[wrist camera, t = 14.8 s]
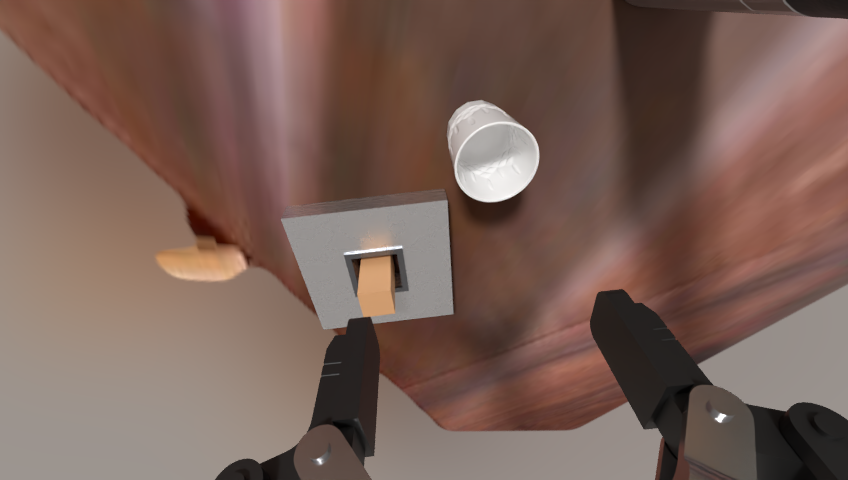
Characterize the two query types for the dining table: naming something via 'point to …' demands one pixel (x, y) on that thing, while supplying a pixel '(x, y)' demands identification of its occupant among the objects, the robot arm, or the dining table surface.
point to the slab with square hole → (374, 252)
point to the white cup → (490, 152)
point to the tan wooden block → (377, 286)
